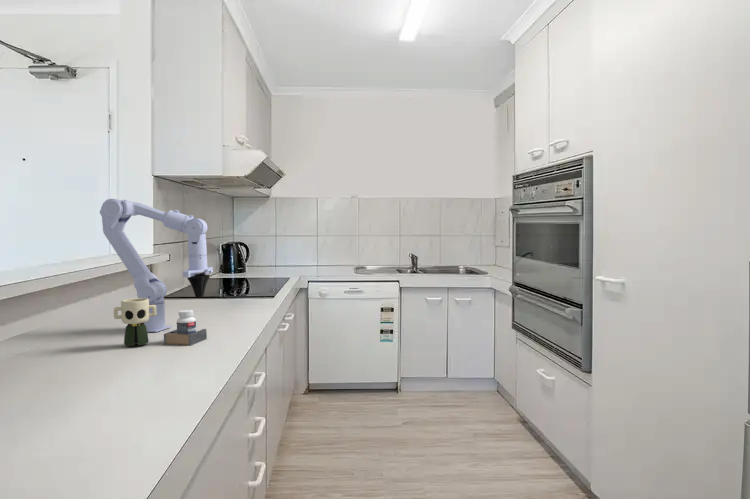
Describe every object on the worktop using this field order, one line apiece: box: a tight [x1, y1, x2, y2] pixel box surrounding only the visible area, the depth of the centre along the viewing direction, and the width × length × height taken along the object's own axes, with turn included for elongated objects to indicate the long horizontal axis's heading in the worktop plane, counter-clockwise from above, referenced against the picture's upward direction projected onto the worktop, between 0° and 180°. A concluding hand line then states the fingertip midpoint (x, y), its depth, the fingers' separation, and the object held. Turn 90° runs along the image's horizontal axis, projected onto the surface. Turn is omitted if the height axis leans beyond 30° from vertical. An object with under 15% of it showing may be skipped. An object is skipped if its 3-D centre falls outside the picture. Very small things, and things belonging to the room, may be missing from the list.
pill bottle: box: [176, 309, 197, 334], centre depth 146 cm, size 5×5×9 cm
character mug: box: [113, 297, 157, 347], centre depth 141 cm, size 11×7×13 cm, turn 114°
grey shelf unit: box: [163, 328, 208, 346], centre depth 146 cm, size 9×8×3 cm
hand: (199, 297), depth 163 cm, fingers closed
